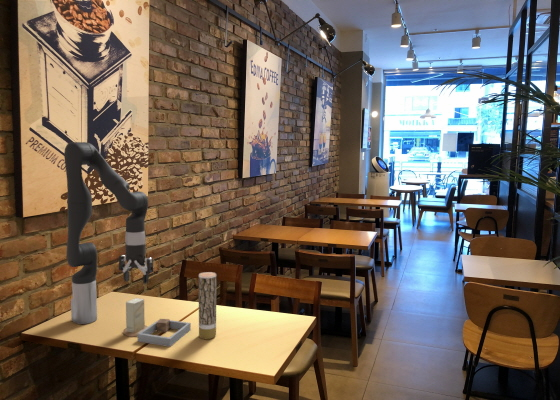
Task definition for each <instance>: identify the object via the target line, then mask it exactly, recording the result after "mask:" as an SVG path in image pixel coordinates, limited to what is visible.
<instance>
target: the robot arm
mask: <svg viewBox="0 0 560 400" xmlns="http://www.w3.org/2000/svg"><path fill="white" fill-rule="evenodd" d="M63 155H64V156H63V157H64V166H65V172H66V175H65V176H66V185H67V186H66V188H67V191H66V192H67V197H66V198H67V199H66V203H67V204H66V205H67V241H66V261H67V263H68V266H69V267H71V268H77V267H82V268H81V269H79V270H78V271H76V272H75V273H73V274H72V276H71V285H72V288H71V289H72V298H71V299H70V313H71V315H70V316H71V322H73V323H74V324H77V325H78V324H79V325H84V324H86V325H87V324H90V323H93V322H95V321H97V319H98V299H97V273H98V250H97V247H96V245H95V244H94V243H93V242H83V243H80V240H81V237H82V236H81V235H82V233H83V230H84V228H85V226H87V224H88V222H89V220H90V219H91V216H92V213H93V197H92V194H91V192H90V189H89V188H88V187H87V185H86V183H85V181H84V177H83V168H82V167H83V166H86V165H87V166H89V167H91V168H92V169H93V170H95V171H96V172H97V174H98V176H99V179H100V182H101V184H102V185H103V186H104V187H105V188H106V189H107V190H109V192H110V193H111V194H112V195H114V197H115V199H116V200H117V202H118V204H119V205H120V207H121V208H122V209H124V210H126V211H129V212H131V213H130V215H129V216H128V217H127V218H125V238H124V239H125V254H121V255H120V256H118V270H119V271H121V272H122V273H123V281H124V282H125V283H126V282H129V281H130V269H131V268H132V269H133V268H135V269H139V271H141V273H142V284H143V285H146V284H148V283H149V281H150V280H149V279H150V278H149V277H150V274H152V273H153V272H154V260H153V257H146V247H147V246H146V245H147V244H146V231H145V226H146V225H145V221H146V220H145V219H146V217H147V211H148V207H149V199H148V196H147V194H146V193H145V192H143V191H134V192H133V191H132V192H131V191H130V184H129V183H128V182H127V181H126V180H125V179H124V178H123V177H122V176H121V175H120V174H119V173H118V172H116V170H115V169H113V168H112V166H111V165H109V163H108V162H107V161H106V159H105V158H104V157H103V156H102V154H101V152H99V150H98V149H97V148H96V147H95V146H94V145H93V144H92V143H90V142H85V141H82V142H80V141H78V142H77V141H76V142H75V141H72V142H69V143H67V144H66V146H65V148H64V152H63ZM126 262H127V263H126Z"/></svg>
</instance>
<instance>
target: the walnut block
mask: <svg viewBox="0 0 560 400" xmlns="http://www.w3.org/2000/svg"><path fill="white" fill-rule="evenodd" d="M170 320H171V319H169V318H159V319H158V320H156V321H157V330H156V333H168V331H169V330H170V329H171V328H170Z"/></svg>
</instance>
